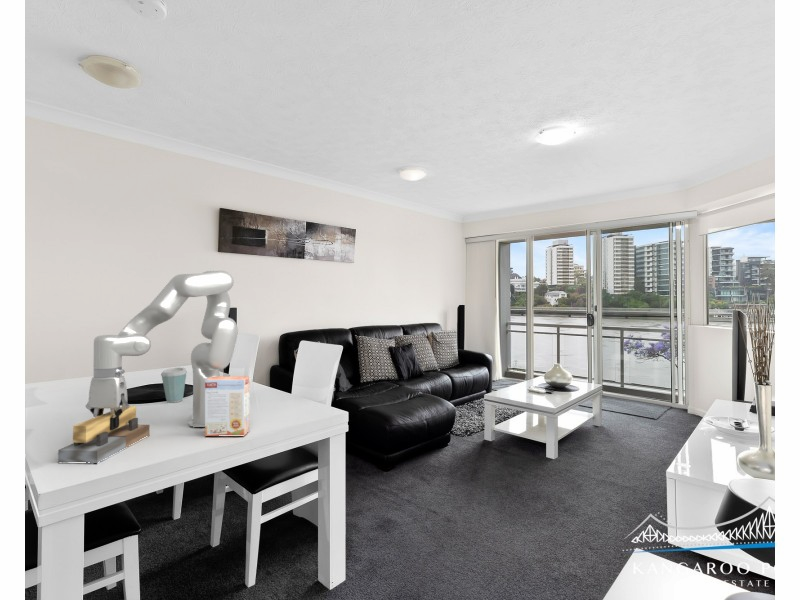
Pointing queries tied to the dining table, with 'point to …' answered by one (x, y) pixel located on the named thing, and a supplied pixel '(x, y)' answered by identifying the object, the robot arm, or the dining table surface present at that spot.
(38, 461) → the dining table surface
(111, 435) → the door and jamb
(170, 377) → the disposable coffee cup
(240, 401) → the cracker box
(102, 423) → the bar
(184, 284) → the robot arm
